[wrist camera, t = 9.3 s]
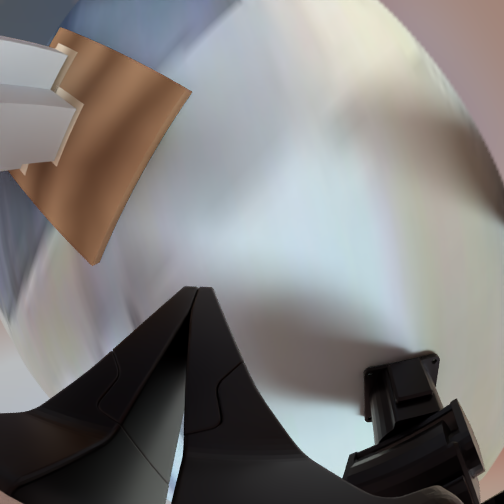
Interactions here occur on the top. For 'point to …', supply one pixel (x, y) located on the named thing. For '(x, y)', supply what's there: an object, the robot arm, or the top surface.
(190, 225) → the top surface
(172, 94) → the brown board
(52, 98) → the white block
